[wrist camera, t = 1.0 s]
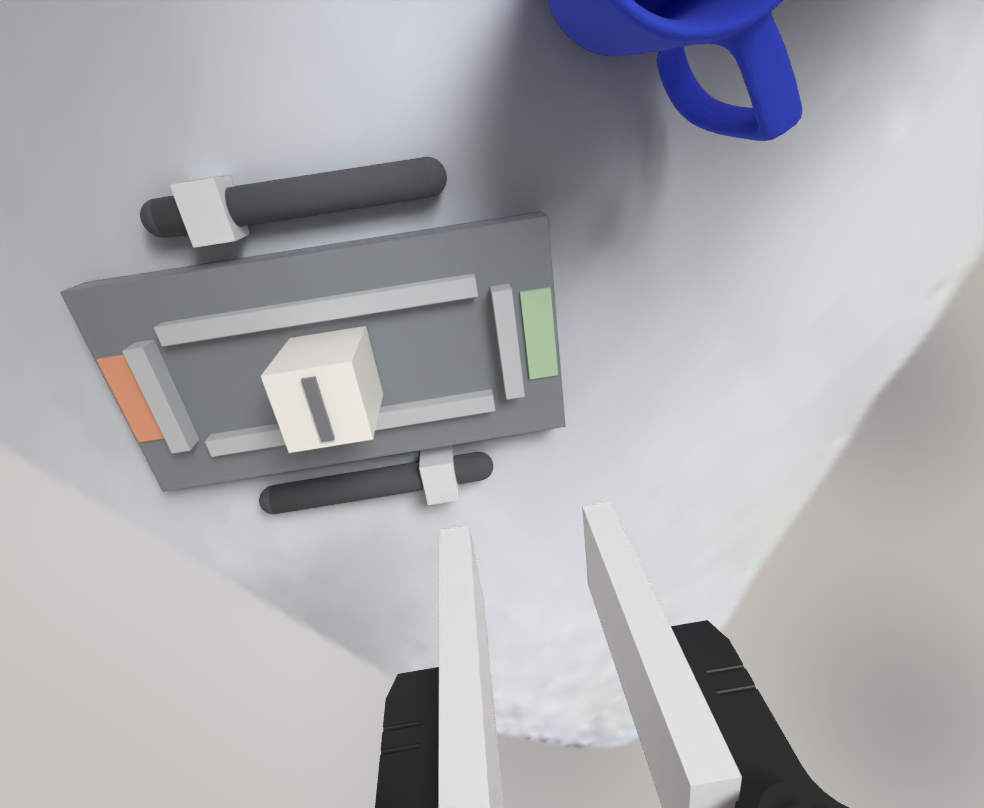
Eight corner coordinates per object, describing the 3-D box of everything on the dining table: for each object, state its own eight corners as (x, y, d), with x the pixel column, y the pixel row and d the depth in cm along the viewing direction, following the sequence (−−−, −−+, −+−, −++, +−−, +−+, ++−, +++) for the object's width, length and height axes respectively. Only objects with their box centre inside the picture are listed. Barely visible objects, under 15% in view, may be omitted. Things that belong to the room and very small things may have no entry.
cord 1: (140, 188, 26) (115, 192, 24) (441, 142, 26) (441, 142, 24) (164, 247, 27) (142, 255, 25) (451, 202, 27) (451, 207, 25)
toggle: (289, 338, 28) (259, 377, 23) (366, 325, 28) (350, 363, 23) (312, 405, 29) (287, 455, 25) (383, 394, 29) (372, 441, 25)
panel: (84, 282, 27) (43, 298, 25) (540, 211, 28) (552, 219, 25) (178, 472, 33) (153, 504, 30) (558, 411, 33) (569, 436, 30)
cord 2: (257, 475, 33) (246, 496, 31) (488, 437, 34) (491, 456, 32) (272, 510, 35) (261, 532, 33) (494, 474, 35) (497, 494, 33)
